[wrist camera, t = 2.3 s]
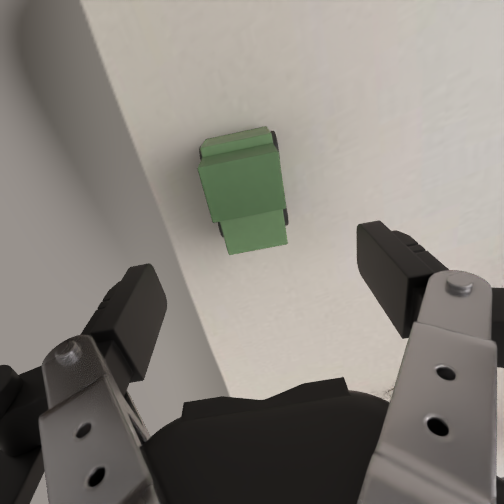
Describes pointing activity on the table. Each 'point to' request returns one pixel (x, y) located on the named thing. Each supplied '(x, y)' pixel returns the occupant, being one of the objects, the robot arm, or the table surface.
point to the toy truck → (245, 189)
